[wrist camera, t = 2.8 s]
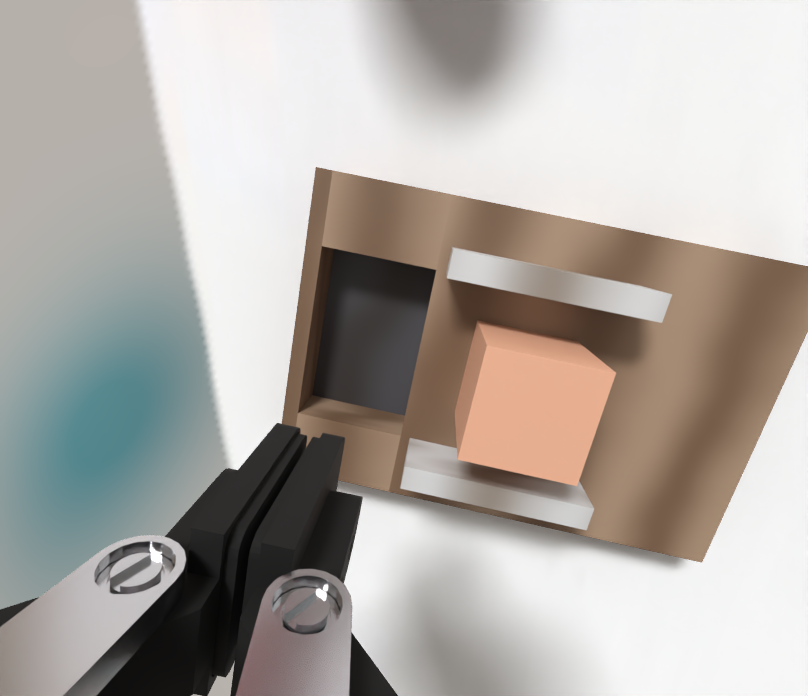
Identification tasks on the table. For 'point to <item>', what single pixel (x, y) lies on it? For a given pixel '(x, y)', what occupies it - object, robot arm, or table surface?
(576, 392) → the block
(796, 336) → the board
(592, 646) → the table surface
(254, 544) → the robot arm
